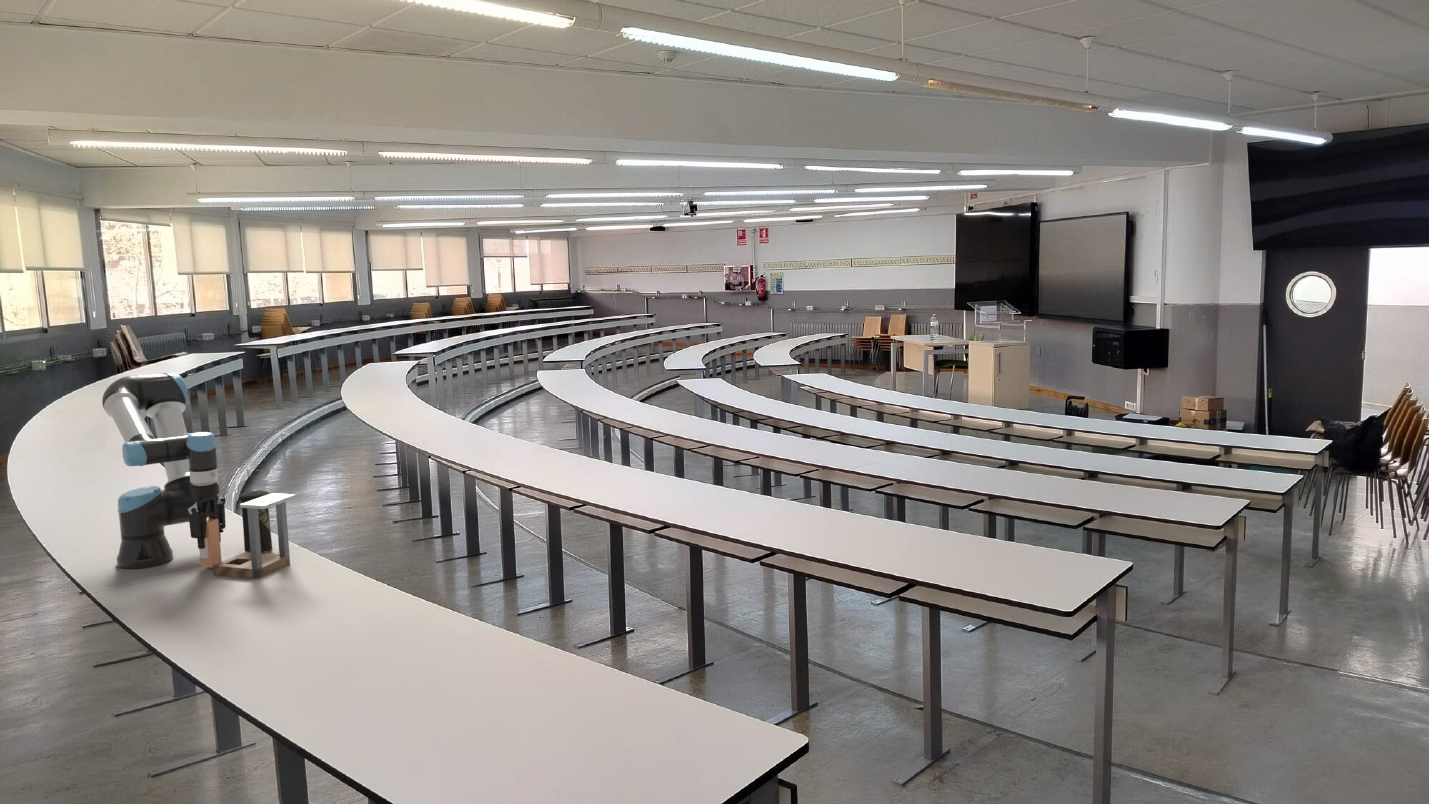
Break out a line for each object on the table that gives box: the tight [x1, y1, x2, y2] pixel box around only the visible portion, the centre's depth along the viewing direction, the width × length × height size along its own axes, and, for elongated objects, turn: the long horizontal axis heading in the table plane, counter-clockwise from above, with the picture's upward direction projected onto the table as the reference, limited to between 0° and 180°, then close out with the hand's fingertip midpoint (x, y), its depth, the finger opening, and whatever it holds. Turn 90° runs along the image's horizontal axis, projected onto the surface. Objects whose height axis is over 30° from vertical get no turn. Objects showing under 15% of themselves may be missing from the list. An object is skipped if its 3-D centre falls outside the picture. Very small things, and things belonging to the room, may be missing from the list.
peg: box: [199, 518, 222, 567], centre depth 276 cm, size 4×4×14 cm
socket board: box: [212, 551, 291, 580], centre depth 276 cm, size 16×14×3 cm
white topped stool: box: [239, 492, 297, 580], centre depth 273 cm, size 8×14×23 cm, turn 167°
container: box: [238, 489, 273, 553], centre depth 294 cm, size 9×9×20 cm
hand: (210, 555), depth 277 cm, fingers closed on peg, 4 cm apart
